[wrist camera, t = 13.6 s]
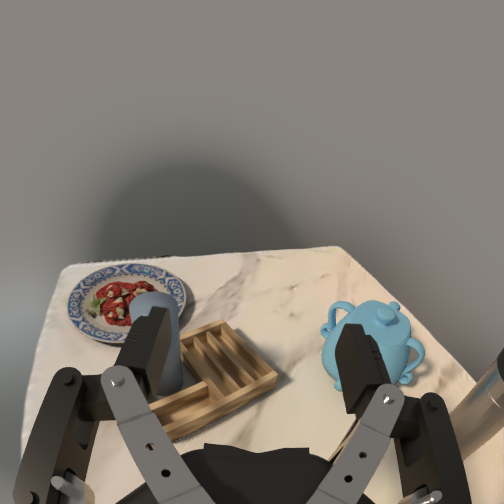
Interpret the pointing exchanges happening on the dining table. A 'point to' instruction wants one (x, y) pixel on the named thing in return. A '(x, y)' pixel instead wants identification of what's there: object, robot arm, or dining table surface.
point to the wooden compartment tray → (212, 380)
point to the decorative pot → (381, 329)
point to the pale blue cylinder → (173, 364)
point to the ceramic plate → (117, 298)
